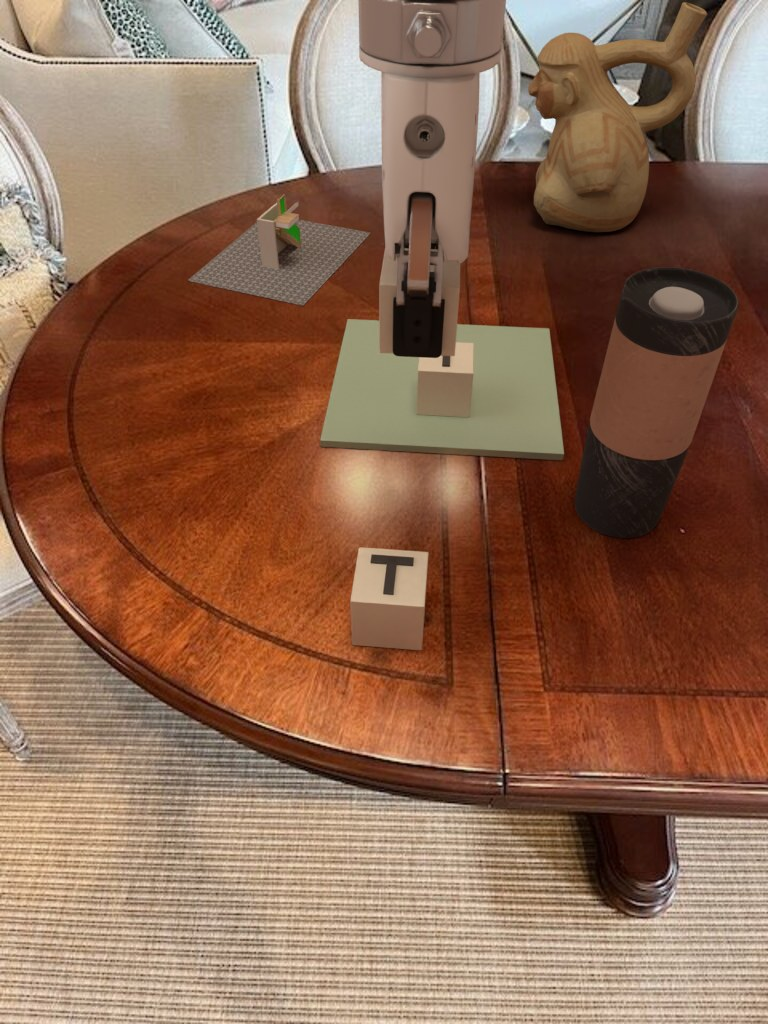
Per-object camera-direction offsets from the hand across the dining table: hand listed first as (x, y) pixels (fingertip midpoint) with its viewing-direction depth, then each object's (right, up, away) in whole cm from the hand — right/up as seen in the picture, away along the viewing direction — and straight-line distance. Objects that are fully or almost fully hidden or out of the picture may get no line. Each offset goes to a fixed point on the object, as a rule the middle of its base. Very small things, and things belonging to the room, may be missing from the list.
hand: (418, 328), depth 53 cm
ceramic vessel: (+25, +28, +53) cm, 65 cm away
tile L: (0, 0, 0) cm, 0 cm away
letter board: (+4, 0, +25) cm, 25 cm away
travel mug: (+17, -12, +13) cm, 25 cm away
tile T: (-2, -20, +4) cm, 21 cm away
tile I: (+3, -2, +22) cm, 22 cm away
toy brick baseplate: (-15, +20, +45) cm, 51 cm away
